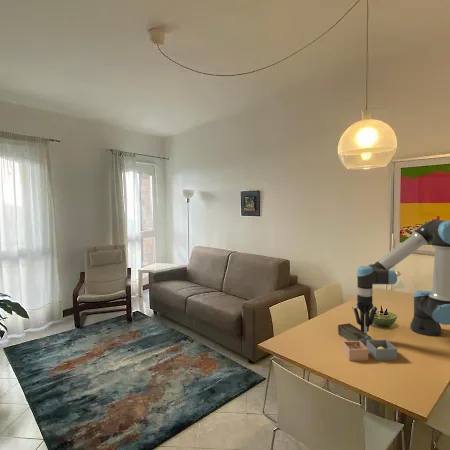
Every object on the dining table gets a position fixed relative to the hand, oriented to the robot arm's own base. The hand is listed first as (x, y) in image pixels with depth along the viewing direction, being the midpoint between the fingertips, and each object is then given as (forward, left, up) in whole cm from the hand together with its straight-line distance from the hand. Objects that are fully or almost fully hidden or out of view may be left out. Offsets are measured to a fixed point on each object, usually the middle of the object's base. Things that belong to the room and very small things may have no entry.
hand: (364, 337), depth 166 cm
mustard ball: (0, +18, -1) cm, 18 cm away
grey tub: (0, +18, -2) cm, 18 cm away
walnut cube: (+13, +18, -1) cm, 22 cm away
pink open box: (+13, +18, -2) cm, 22 cm away
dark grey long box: (+6, 0, -2) cm, 6 cm away
